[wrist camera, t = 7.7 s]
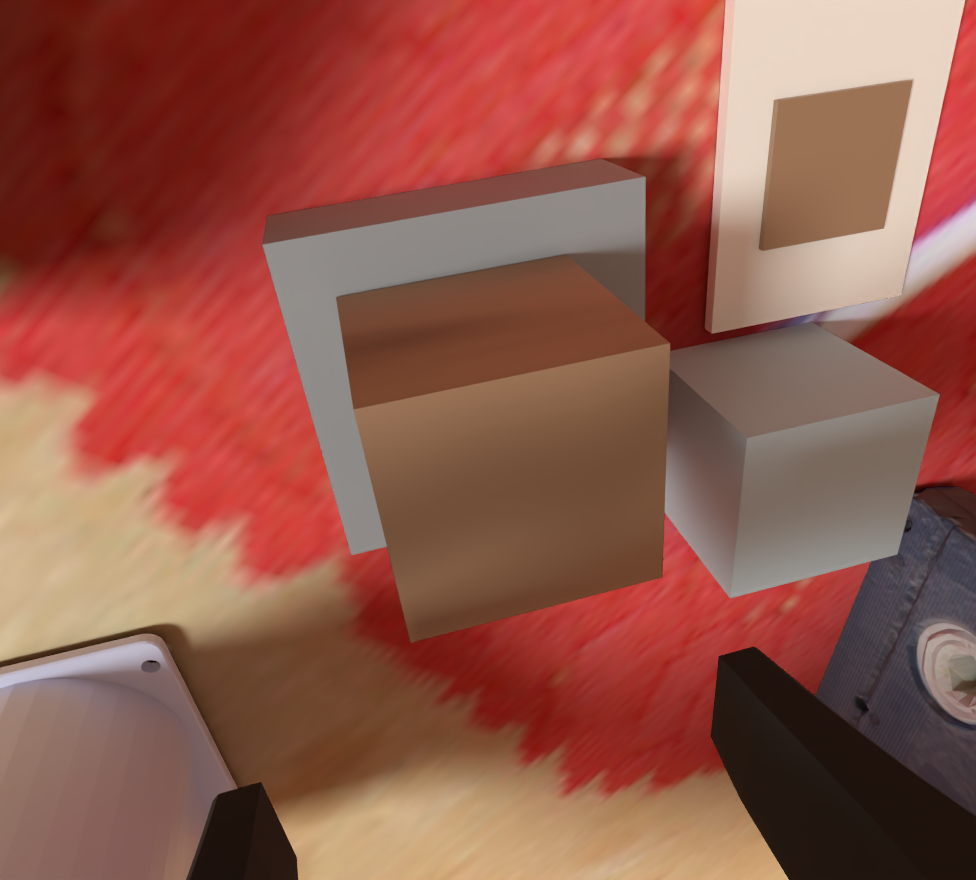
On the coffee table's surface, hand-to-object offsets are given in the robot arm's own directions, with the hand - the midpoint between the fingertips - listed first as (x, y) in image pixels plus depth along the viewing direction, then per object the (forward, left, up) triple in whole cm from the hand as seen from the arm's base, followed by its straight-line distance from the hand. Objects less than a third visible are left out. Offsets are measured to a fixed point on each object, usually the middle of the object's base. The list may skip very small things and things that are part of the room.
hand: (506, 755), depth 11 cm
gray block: (-2, -10, -10) cm, 14 cm away
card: (+5, -12, -10) cm, 16 cm away
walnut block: (+3, -1, -8) cm, 8 cm away
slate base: (+2, -2, -11) cm, 11 cm away
